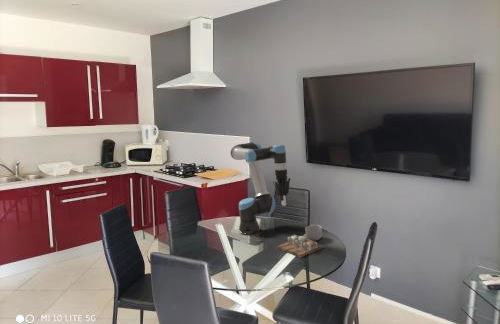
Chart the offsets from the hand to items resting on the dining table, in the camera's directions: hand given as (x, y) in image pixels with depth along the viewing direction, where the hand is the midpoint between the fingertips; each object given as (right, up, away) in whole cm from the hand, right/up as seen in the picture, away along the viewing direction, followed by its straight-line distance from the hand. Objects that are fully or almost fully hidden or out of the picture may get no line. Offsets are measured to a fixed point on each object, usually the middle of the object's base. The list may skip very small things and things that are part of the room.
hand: (283, 205), depth 238 cm
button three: (+15, -24, -14) cm, 31 cm away
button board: (+9, -26, -10) cm, 29 cm away
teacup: (+20, -22, +4) cm, 31 cm away
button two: (+10, -22, -9) cm, 26 cm away
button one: (+6, -23, -3) cm, 24 cm away
